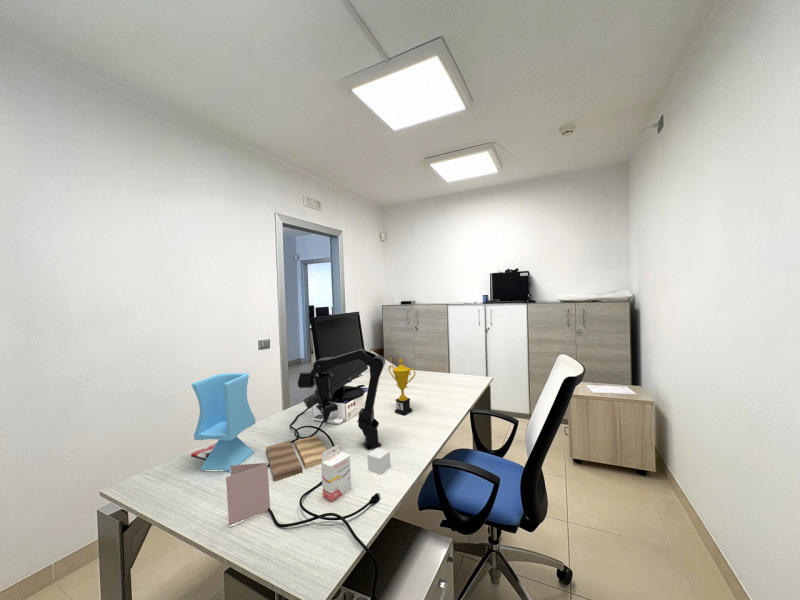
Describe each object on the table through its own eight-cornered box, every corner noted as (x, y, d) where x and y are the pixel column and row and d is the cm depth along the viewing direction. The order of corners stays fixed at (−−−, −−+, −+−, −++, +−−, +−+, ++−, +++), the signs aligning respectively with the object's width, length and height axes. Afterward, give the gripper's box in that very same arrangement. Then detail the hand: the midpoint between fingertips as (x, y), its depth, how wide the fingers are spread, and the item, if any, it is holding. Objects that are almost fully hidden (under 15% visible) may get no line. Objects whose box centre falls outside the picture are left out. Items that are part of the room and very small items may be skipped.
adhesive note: (368, 470, 116) (367, 454, 115) (378, 462, 120) (377, 447, 120) (380, 474, 112) (379, 458, 112) (390, 466, 117) (389, 451, 117)
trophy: (384, 411, 172) (382, 358, 172) (396, 406, 180) (393, 355, 179) (412, 418, 160) (409, 361, 160) (422, 412, 168) (420, 358, 167)
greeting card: (271, 507, 97) (268, 461, 97) (261, 525, 90) (258, 475, 90) (234, 510, 97) (231, 463, 97) (222, 528, 89) (218, 477, 89)
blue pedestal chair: (196, 472, 120) (190, 383, 119) (224, 451, 135) (219, 373, 135) (232, 473, 118) (227, 383, 117) (257, 452, 133) (252, 372, 133)
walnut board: (302, 472, 116) (302, 467, 116) (274, 482, 111) (273, 476, 111) (290, 445, 139) (289, 440, 139) (266, 451, 134) (266, 447, 134)
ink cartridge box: (332, 502, 98) (329, 457, 98) (322, 496, 101) (320, 452, 101) (352, 488, 105) (349, 446, 105) (342, 483, 108) (340, 442, 108)
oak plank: (330, 460, 123) (330, 455, 123) (305, 468, 118) (305, 463, 118) (317, 439, 143) (316, 435, 143) (294, 445, 138) (294, 441, 138)
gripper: (299, 386, 140) (301, 420, 140) (310, 396, 124) (313, 434, 124) (323, 381, 145) (325, 413, 146) (336, 390, 129) (339, 427, 130)
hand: (325, 422), depth 136 cm, fingers closed
